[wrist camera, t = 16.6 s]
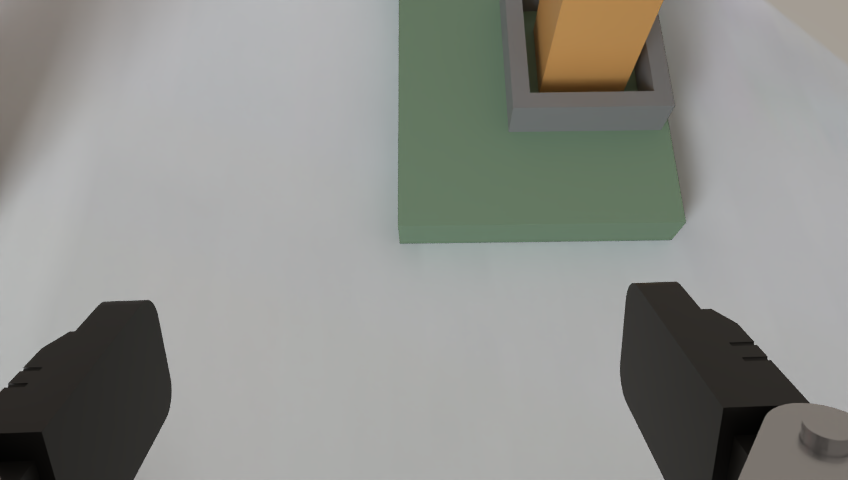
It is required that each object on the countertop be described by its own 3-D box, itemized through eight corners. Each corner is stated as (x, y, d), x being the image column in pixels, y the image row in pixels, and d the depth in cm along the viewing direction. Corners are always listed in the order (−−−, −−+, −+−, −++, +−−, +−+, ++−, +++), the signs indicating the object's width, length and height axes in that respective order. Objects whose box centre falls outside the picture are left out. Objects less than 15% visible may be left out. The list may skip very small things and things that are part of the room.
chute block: (533, 30, 44) (561, -105, 34) (612, 29, 43) (661, -106, 34) (538, 96, 42) (569, -29, 32) (621, 95, 42) (676, -29, 32)
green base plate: (400, -40, 49) (397, -100, 45) (624, -43, 49) (644, -103, 45) (399, 243, 41) (396, 206, 36) (671, 240, 41) (702, 202, 36)
